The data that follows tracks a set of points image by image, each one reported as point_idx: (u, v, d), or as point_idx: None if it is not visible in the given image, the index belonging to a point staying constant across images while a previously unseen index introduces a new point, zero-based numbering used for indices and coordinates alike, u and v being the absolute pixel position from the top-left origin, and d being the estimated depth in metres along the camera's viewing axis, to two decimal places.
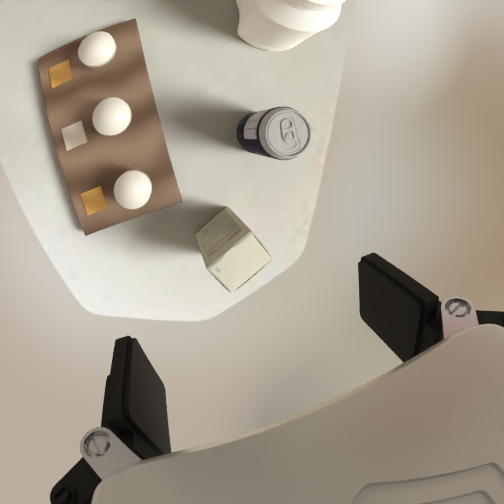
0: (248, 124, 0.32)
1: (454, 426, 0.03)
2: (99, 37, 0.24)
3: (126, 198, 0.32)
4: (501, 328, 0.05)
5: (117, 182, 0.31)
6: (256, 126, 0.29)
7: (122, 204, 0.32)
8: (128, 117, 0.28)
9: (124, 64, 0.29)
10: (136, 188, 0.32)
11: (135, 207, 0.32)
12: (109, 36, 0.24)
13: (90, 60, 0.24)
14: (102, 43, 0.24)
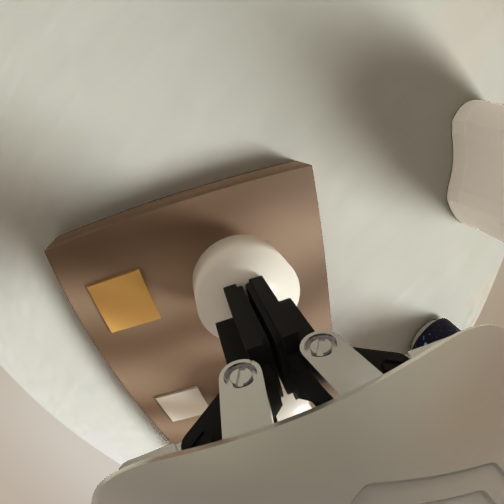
0: None
1: (454, 426, 0.03)
2: (258, 272, 0.12)
3: None
4: (501, 328, 0.05)
5: None
6: None
7: None
8: None
9: None
10: None
11: None
12: (288, 270, 0.12)
13: None
14: None
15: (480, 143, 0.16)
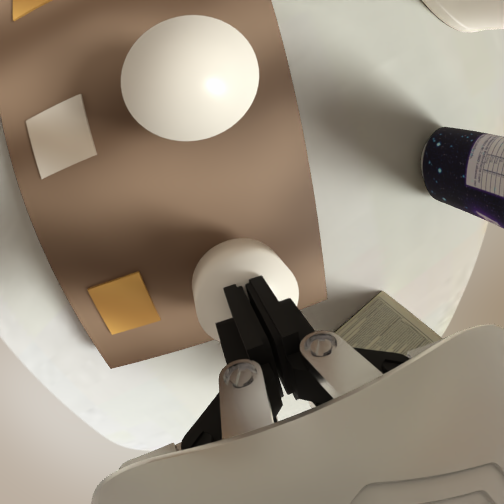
0: (488, 161, 0.12)
1: (454, 426, 0.03)
2: None
3: None
4: (501, 328, 0.05)
5: (207, 286, 0.12)
6: None
7: None
8: (254, 86, 0.09)
9: None
10: None
11: None
12: None
13: None
14: None
15: None
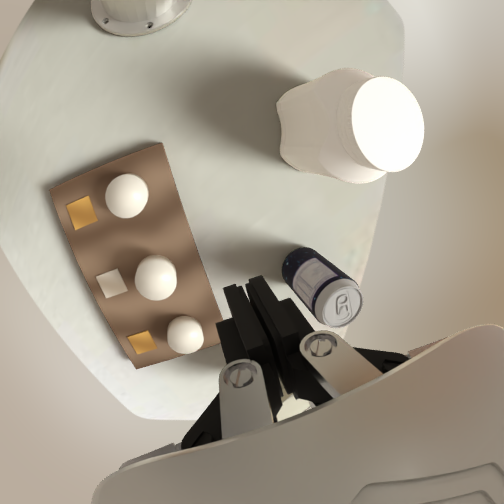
0: (299, 280, 0.34)
1: (454, 426, 0.03)
2: (127, 183, 0.27)
3: (180, 346, 0.35)
4: (501, 328, 0.05)
5: (170, 333, 0.34)
6: (311, 298, 0.30)
7: (176, 350, 0.35)
8: (175, 282, 0.30)
9: (157, 205, 0.31)
10: (190, 337, 0.35)
11: (189, 352, 0.35)
12: (139, 182, 0.28)
13: (122, 212, 0.28)
14: (132, 191, 0.28)
15: (287, 112, 0.30)
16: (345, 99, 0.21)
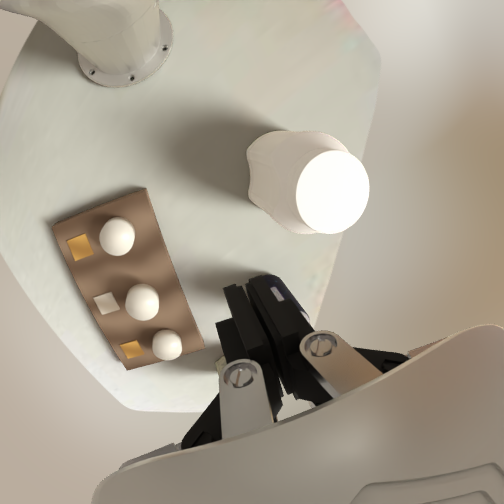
0: None
1: (454, 426, 0.03)
2: (117, 228, 0.33)
3: (163, 354, 0.42)
4: (501, 328, 0.05)
5: (154, 344, 0.41)
6: None
7: (160, 357, 0.42)
8: (157, 307, 0.37)
9: (142, 242, 0.37)
10: (170, 347, 0.41)
11: (170, 359, 0.42)
12: (127, 228, 0.34)
13: (114, 251, 0.34)
14: (121, 235, 0.34)
15: (253, 162, 0.36)
16: (294, 173, 0.27)
